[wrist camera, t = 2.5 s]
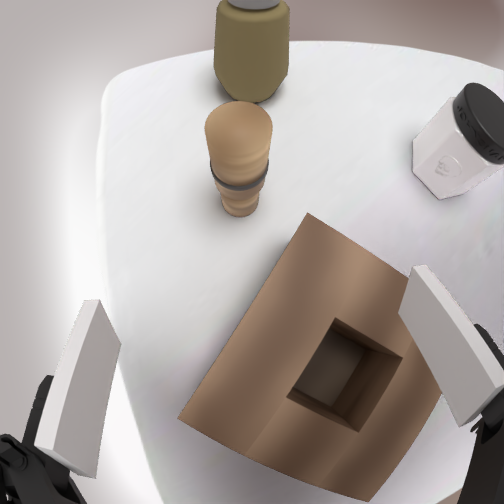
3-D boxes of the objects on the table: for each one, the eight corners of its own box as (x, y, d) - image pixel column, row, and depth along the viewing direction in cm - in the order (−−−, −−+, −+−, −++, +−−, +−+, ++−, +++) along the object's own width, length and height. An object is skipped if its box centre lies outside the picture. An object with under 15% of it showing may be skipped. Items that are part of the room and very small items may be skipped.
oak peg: (270, 193, 29) (287, 118, 17) (247, 229, 28) (249, 167, 16) (233, 172, 29) (229, 91, 17) (209, 206, 28) (188, 135, 17)
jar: (396, 159, 30) (451, 96, 19) (424, 126, 32) (472, 69, 20) (449, 215, 29) (519, 174, 17) (471, 176, 30) (529, 132, 19)
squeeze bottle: (204, 101, 31) (183, -37, 13) (231, 59, 33) (228, -63, 15) (272, 120, 31) (293, -26, 13) (293, 75, 32) (317, -50, 15)
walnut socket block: (421, 325, 26) (472, 325, 19) (339, 463, 23) (368, 502, 16) (289, 241, 28) (307, 212, 20) (195, 390, 25) (177, 418, 17)
